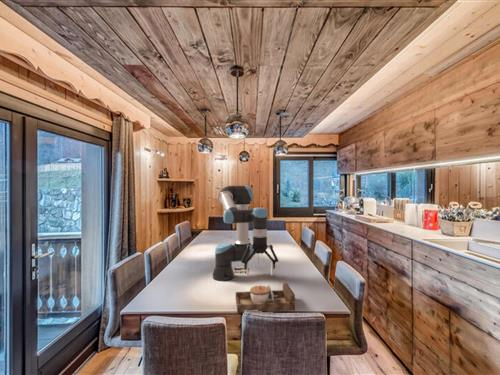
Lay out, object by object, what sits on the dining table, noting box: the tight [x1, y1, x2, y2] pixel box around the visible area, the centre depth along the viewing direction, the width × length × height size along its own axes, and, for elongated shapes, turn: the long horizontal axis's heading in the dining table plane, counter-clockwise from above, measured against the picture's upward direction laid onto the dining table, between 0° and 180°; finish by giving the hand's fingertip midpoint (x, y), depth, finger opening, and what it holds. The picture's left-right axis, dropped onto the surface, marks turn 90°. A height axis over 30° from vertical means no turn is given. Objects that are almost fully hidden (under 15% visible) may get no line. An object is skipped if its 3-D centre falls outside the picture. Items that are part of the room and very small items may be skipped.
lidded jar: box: [249, 285, 270, 303], centre depth 141 cm, size 11×11×9 cm
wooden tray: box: [235, 282, 296, 314], centre depth 142 cm, size 30×16×8 cm, turn 96°
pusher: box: [267, 284, 279, 303], centre depth 142 cm, size 5×13×7 cm, turn 6°
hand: (259, 274), depth 141 cm, fingers open, 13 cm apart
